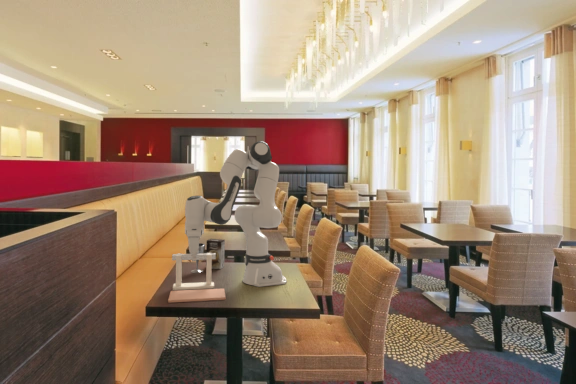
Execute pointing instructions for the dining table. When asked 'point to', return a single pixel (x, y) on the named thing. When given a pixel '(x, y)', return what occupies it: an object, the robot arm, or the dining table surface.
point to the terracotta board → (197, 295)
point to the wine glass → (200, 251)
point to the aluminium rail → (198, 256)
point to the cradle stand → (200, 285)
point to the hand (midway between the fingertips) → (194, 258)
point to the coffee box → (218, 248)
